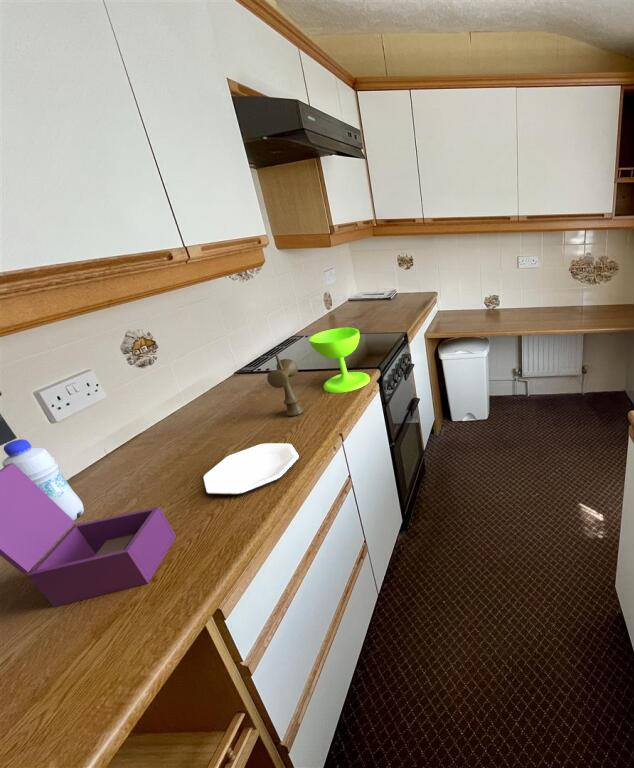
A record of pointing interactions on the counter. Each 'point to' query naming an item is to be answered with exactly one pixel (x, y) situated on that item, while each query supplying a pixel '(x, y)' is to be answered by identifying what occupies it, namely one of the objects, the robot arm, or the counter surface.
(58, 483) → the bottle
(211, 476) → the plate
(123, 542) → the block
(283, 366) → the kendama
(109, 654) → the counter surface
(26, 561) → the lid
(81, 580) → the purple hinged box
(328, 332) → the wineglass
